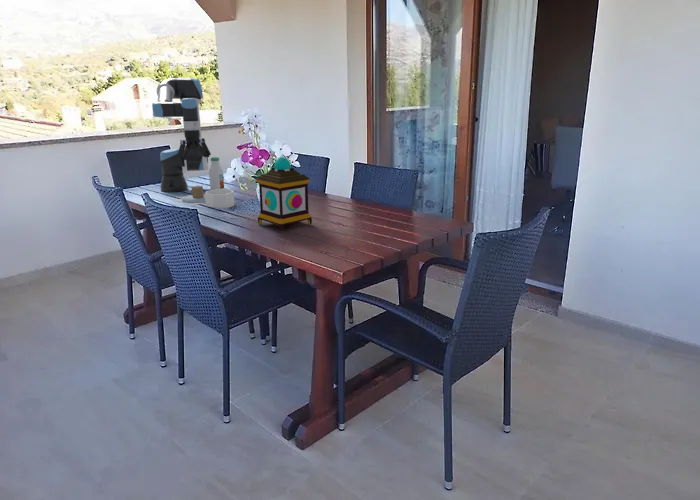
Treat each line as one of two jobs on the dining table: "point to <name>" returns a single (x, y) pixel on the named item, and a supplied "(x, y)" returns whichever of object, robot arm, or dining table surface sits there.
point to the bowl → (219, 198)
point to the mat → (189, 203)
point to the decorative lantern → (283, 195)
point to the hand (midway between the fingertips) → (195, 171)
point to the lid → (195, 195)
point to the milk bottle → (216, 175)
